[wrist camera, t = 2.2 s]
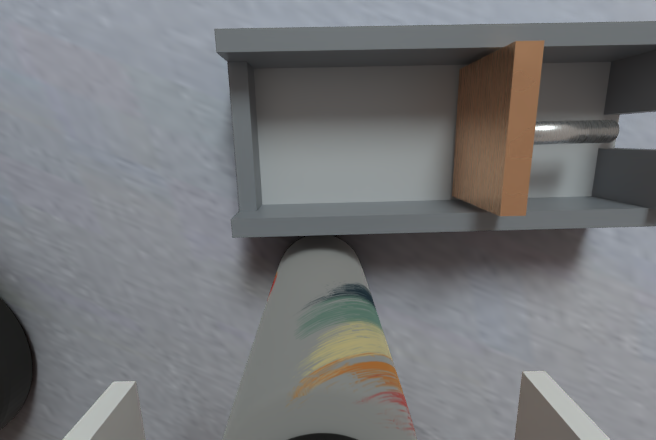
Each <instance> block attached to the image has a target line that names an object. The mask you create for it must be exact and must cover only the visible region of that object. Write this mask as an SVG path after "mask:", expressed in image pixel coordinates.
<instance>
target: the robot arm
mask: <svg viewBox="0 0 656 440" xmlns="http://www.w3.org/2000/svg"><path fill="white" fill-rule="evenodd" d="M31 380H32V359H31V353H30V349H29V345H28V342H27V339H26V336H25V334H24V332H23V330H22V328H21V326H20V324H19V322H18V321H17V319H16V317H15V316H14V314H13V313H12V312H11V310H10V309H9V308H8V306H7V305H6V304H5V303H4V302H3V300H2V299H1V298H0V430H1V429H2V428H3V427H4V426H5V425H6V424H7V423H8V422H9V421H10V420H11V419H13V417H14V416H15V415H16V414H17V413H18V411H19V410H20V409H21V407H22V405H23V404H24V402H25V400H26V398H27V395H28V393H29V389H30V385H31ZM63 440H146V439H145V433H144V427H143V421H142V415H141V408H140V402H139V396H138V390H137V384H136V381H121V382H113V383H112V384H111V385H110V386H109V387H108V388H107V390H106V391H105V392H104V393H103V394H102V395H101V396H100V398H99V399H98V400H97V401H96V402H95V403H94V404H93V406H92V407H91V408H90V409H89V410H88V411H87V412H86V414H85V415H84V416H83V417H82V418H81V419H80V420H79V421H78V423H77V424H76V425H75V426H74V427H73V428H72V429H71V431H70V432H69V433H68V434H67V435H66V436H65V437H64V439H63ZM515 440H610V439H609V438H608V437H607V435H606V434H605V433H604V432H603V431H602V430H601V429H600V428H599V427H598V426H597V425H596V424H595V423H594V422H593V421H592V420H591V419H590V418H589V417H588V416H587V415H586V414H585V412H584V411H583V410H582V409H581V408H580V407H579V406H578V405H577V404H576V403H575V402H574V401H573V400H572V399H571V398H570V397H569V396H568V395H567V394H566V393H565V392H564V391H563V389H562V388H561V387H560V386H559V385H558V384H557V383H556V382H555V381H554V380H553V379H552V378H551V377H550V376H549V375H548V374H547V373H546V372H545V371H522V379H521V388H520V397H519V405H518V414H517V423H516V432H515Z"/></svg>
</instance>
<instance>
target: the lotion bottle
mask: <svg viewBox="0 0 656 440" xmlns="http://www.w3.org/2000/svg"><path fill="white" fill-rule="evenodd" d="M223 440H417V437H416V433H415V430H414V426H413V423H412V420H411V416H410V413H409V410H408V407H407V404H406V400H405V397H404V394H403V391H402V388H401V385H400V382H399V379H398V376H397V373H396V370H395V366H394V363H393V360H392V357H391V354H390V351H389V348H388V345H387V342H386V339H385V336H384V333H383V330H382V327H381V324H380V321H379V318H378V315H377V312H376V309H375V305H374V302H373V299H372V296H371V293H370V290H369V287H368V284H367V281H366V278H365V275H364V272H363V269H362V266H361V264H360V261H359V259H358V257H357V255H356V254H355V252H354V251H353V249H352V248H351V247H350V246H349V245H348V244H347V243H345V242H344V241H342V240H341V239H339V238H336V237H334V236H331V235H313V236H307V237H304V238H302V239H300V240H298V241H296V242H295V243H294V244H292V245H291V246H290V247H289V248H288V250H287V251H286V252H285V254H284V256H283V257H282V259H281V262H280V264H279V267H278V270H277V273H276V276H275V279H274V282H273V285H272V288H271V291H270V294H269V297H268V300H267V303H266V306H265V309H264V312H263V315H262V318H261V321H260V324H259V327H258V330H257V333H256V337H255V340H254V343H253V346H252V349H251V352H250V355H249V358H248V361H247V364H246V367H245V370H244V373H243V376H242V379H241V382H240V385H239V388H238V392H237V395H236V398H235V401H234V404H233V407H232V410H231V413H230V417H229V420H228V423H227V426H226V430H225V433H224V437H223Z"/></svg>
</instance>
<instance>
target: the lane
mask: <svg viewBox="0 0 656 440" xmlns="http://www.w3.org/2000/svg"><path fill="white" fill-rule="evenodd" d="M541 40H545V41H544V50H543V60H542V69H541V79H540V88H539V97H538V107H537V116H536V121H574V120H615V121H616V122H617V123H618V122H619V115H620V114H632V113H644V112H656V21H644V22H586V23H528V24H470V25H413V26H355V27H297V28H239V29H215V41H216V52H217V53H218V54H219V55H220V56H221V57H223V58H224V59H225V60H226V61H227V62H228V75H229V87H230V100H231V112H232V125H233V137H234V150H235V162H236V175H237V187H238V200H239V212H238V213H237V214H236V215H235V216H234V217H233V218H232V219H231V227H232V238H239V237H276V236H313V235H349V234H386V233H423V232H460V231H497V230H534V229H570V228H607V227H644V226H656V149H630V148H614V147H615V141H616V139H615V140H614V141H613V142H611V143H586V144H543V145H533V154H532V163H531V173H530V182H529V191H528V201H527V210H526V216H498V215H496V214H493V213H491V212H489V211H486V210H484V209H482V208H479V207H477V206H475V205H472V204H470V203H468V202H465V201H463V200H461V199H458V198H456V197H453V196H452V190H453V172H454V155H455V138H456V120H457V103H458V86H459V69H461V68H463V67H465V66H467V65H469V64H471V63H473V62H475V61H477V60H479V59H481V58H483V57H485V56H487V55H489V54H491V53H493V52H495V51H497V50H499V49H501V48H503V47H505V46H507V45H509V44H511V43H513V42H515V41H541Z"/></svg>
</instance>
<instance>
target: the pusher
mask: <svg viewBox="0 0 656 440" xmlns="http://www.w3.org/2000/svg"><path fill="white" fill-rule="evenodd" d="M544 41H545V40H541V41H515V42H513V43H511V44H509V45H507V46H505V47H503V48H501V49H499V50H497V51H495V52H493V53H491V54H489V55H487V56H485V57H483V58H481V59H479V60H477V61H475V62H473V63H471V64H469V65H467V66H465V67H463V68H461V69H459V86H458V103H457V120H456V138H455V155H454V172H453V190H452V196H453V197H456V198H458V199H461V200H463V201H465V202H468V203H470V204H472V205H475V206H477V207H479V208H482V209H484V210H486V211H489V212H491V213H493V214H496V215H498V216H526V210H527V201H528V191H529V182H530V173H531V163H532V154H533V145H543V144H586V143H611V142H613V141H614V140H615V139H616V138H617V136H618V133H619V125H618V123H617V122H616V121H615V120H574V121H536V116H537V107H538V97H539V88H540V79H541V69H542V60H543V50H544Z"/></svg>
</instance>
